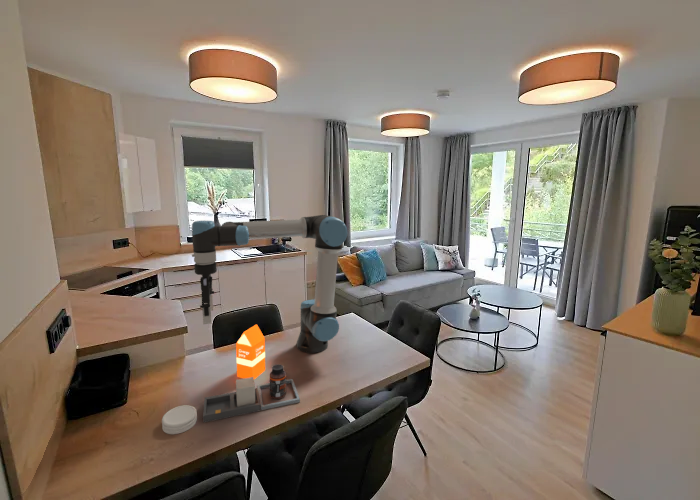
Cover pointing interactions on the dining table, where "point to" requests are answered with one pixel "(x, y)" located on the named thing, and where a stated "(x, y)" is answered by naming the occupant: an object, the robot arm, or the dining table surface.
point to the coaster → (179, 419)
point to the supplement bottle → (277, 382)
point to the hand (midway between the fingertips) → (208, 316)
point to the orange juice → (250, 353)
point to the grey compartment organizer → (233, 402)
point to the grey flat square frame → (278, 402)
